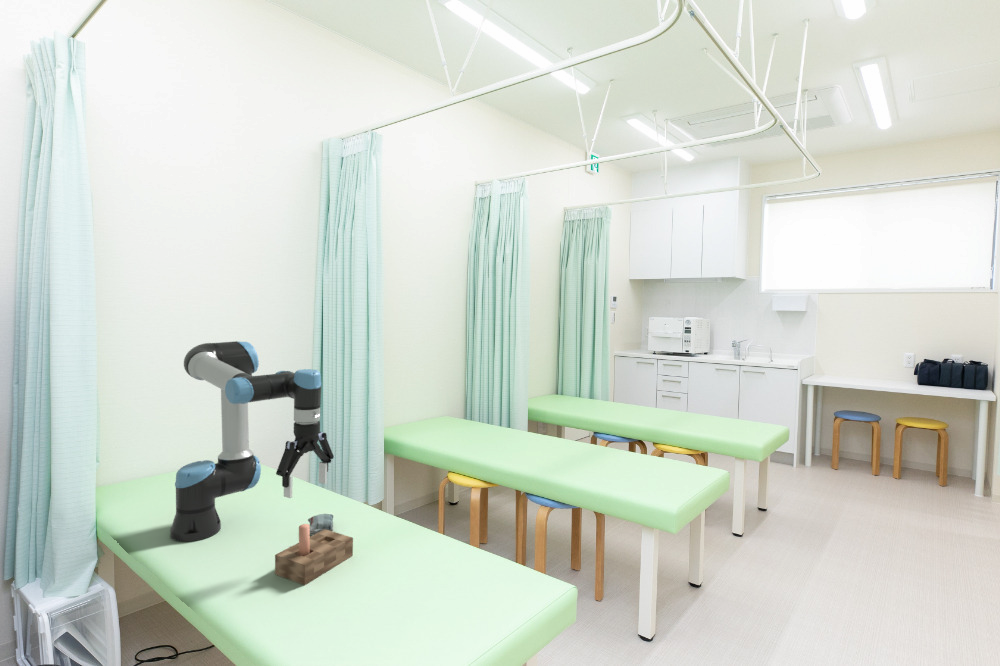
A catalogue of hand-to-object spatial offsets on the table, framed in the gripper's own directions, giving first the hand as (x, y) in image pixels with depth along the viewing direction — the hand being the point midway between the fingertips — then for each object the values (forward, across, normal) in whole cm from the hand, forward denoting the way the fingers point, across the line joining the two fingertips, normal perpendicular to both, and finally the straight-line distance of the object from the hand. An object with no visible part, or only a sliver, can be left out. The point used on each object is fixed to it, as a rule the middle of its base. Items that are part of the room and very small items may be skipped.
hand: (305, 489), depth 165 cm
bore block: (+24, +2, -3) cm, 24 cm away
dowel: (+22, -3, -3) cm, 22 cm away
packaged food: (+24, +20, +14) cm, 34 cm away
